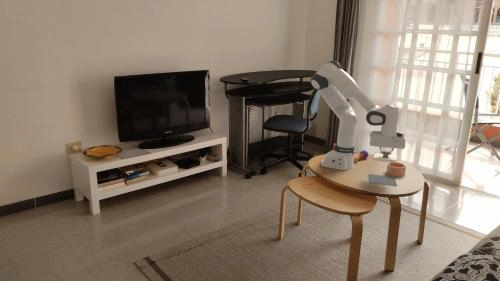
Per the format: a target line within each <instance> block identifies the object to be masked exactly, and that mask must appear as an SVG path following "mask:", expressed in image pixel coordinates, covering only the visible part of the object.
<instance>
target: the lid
mask: <svg viewBox="0 0 500 281" xmlns="http://www.w3.org/2000/svg"><path fill="white" fill-rule="evenodd" d="M382 151H383V154H381V153H377V152H376V153H375V154H374V155H373V157H372V160H373V161H380V162H386V163H389V162H392V163H396V162H397V161H398V157H399V156H398V155H395V154H394V155H392V154H391V155H389V151H387V150H385V151H384V150H382Z"/></svg>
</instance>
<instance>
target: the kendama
mask: <svg viewBox="0 0 500 281" xmlns="http://www.w3.org/2000/svg"><path fill="white" fill-rule="evenodd" d="M359 152H360V153H359V155H358V157H355V158H353V161H354V165H355V164H356V163H357V162H358V161H359V160H360V159H363V160H365V159H368V156H369V152H368V151H367V150H361V151H359Z"/></svg>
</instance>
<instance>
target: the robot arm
mask: <svg viewBox="0 0 500 281" xmlns="http://www.w3.org/2000/svg"><path fill="white" fill-rule="evenodd" d="M310 84H311V86H312V87H313V88H314V89H315V90H318V92H319V94H320V95H321V97H322V98H323V100H324V101H325V102H326V104H327V105H328V107H329V108H330V109H331V110H332V112H333V113H334V114H335V115H336V117H337V118H338V119H339V124H338V125H339V126H338V131H337V141H336V143H333V149H332V150H331V151H328V152H327V153H326V154H325V156H324V158H323V159H321V160H320V166H321V167H324V168H329V169H334V170H341V171H346V170H349V169H353V168H355V164H354V161H353V159H354V155H355V140H356V139H355V138H356V132H357V127H358V122H359V121H358V119H359V118H358V115H357V114H356V110H354V108H353V107H352V106H351V104H350V103H349V102H348V101H347V99H348V100H353V101H355V102H357V103H358V104H359V106H360V107H362V108H363V109H364V110H365V111H366V115H365V121H366V123H367V124H368V125H370V126H374V127H375V126H378V127H379V126H381V127H380V128H381V129H380V130H372V131H370V133H369V146H370V147H376V148H377V147H379V150H380V154H383V151H384V150H382V148H388V149H389V148H390V149H391V150H390V151H388V152H389V155H392V152H394V150H395V149H397V150H398V149H399V150H404V149H406V139H405V132H404V131H402V130H399V129H398V122H399V117H400V110H399V108H398V107H397V105H395V104H394V105H393V104H385V105H383V106H380V105H377V104H375V103H374V102H373V101H372V100H371V99H370V98H369V97H368V96H367V95H366V94H365V93H364V91H363V90H362V89H361V87H360V86H359V85H358V83H357V82H356V81H355V80H354V79H353V77H352V76H351V75H350V74H348V72H346V71H344V70H343V68H342V65H341V63H340V62H339V61H336V60H330V61H329V62H327V63H326V64H324V65H323V66H321V67H320V68H319V70H317V71H316V72H315V73H314V74H313V75H312V76H311V77H310Z"/></svg>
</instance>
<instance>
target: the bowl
mask: <svg viewBox="0 0 500 281" xmlns="http://www.w3.org/2000/svg"><path fill="white" fill-rule="evenodd" d="M406 170H407V165H406V164H404V163H402V162H397V161H396V163H392V162H387V166H386V174H387V175H388V176H392V177H404V176H405V175H406V172H407V171H406Z"/></svg>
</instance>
